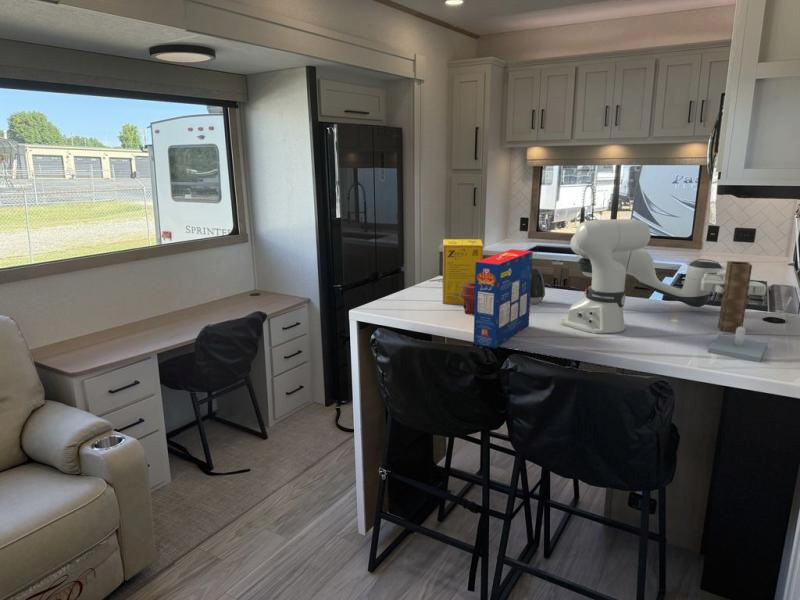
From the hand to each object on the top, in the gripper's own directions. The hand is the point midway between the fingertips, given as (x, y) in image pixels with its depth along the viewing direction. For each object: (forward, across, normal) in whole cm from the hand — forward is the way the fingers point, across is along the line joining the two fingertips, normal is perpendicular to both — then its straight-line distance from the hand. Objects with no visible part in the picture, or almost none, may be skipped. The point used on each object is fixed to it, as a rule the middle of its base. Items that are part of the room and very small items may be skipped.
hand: (735, 291), depth 193 cm
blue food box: (+32, +75, -14) cm, 82 cm away
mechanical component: (+8, +91, -14) cm, 93 cm away
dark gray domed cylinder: (-14, +71, -14) cm, 74 cm away
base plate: (+22, +1, -14) cm, 26 cm away
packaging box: (-10, +101, -14) cm, 103 cm away
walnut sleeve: (-1, 0, -14) cm, 14 cm away
